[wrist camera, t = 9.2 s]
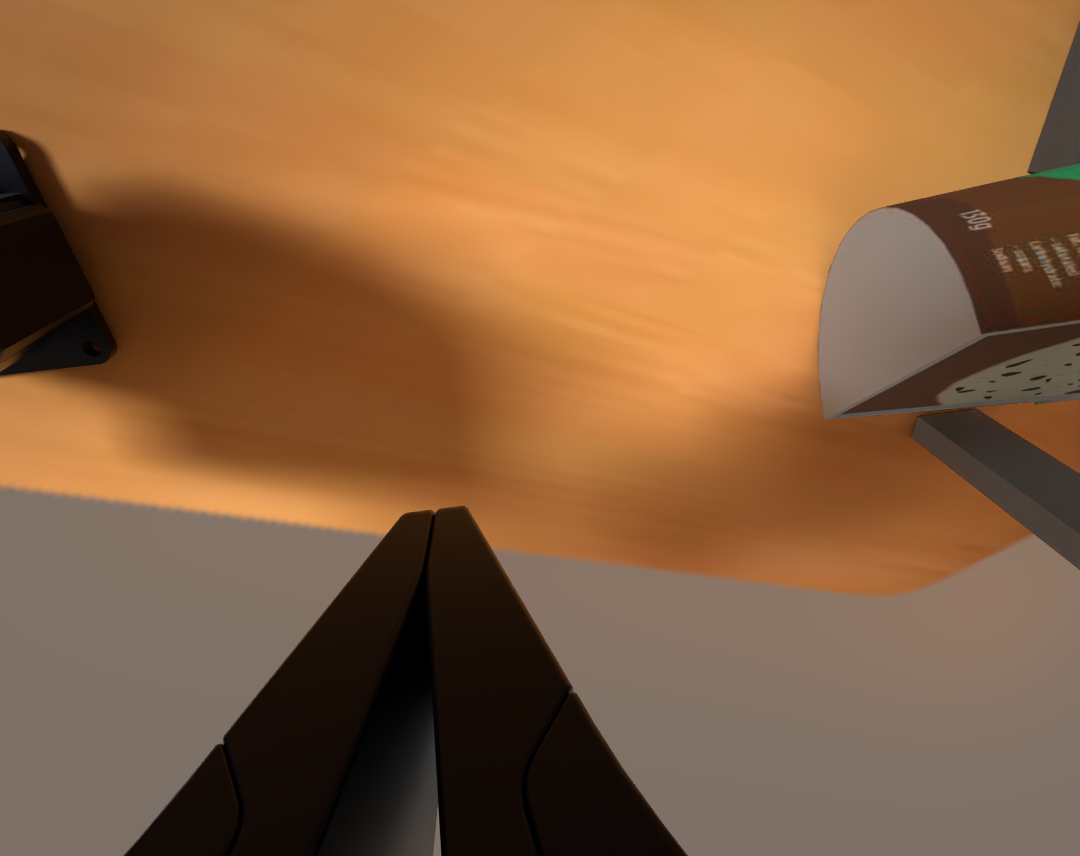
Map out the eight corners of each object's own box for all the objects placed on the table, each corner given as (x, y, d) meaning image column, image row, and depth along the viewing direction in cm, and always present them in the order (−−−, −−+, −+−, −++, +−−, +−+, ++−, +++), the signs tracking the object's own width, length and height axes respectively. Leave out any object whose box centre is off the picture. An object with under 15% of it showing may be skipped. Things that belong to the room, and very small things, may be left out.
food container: (785, 281, 23) (1054, 244, 22) (811, 427, 22) (1096, 398, 21) (957, 14, 11) (1578, -102, 10) (1032, 306, 10) (1748, 219, 9)
